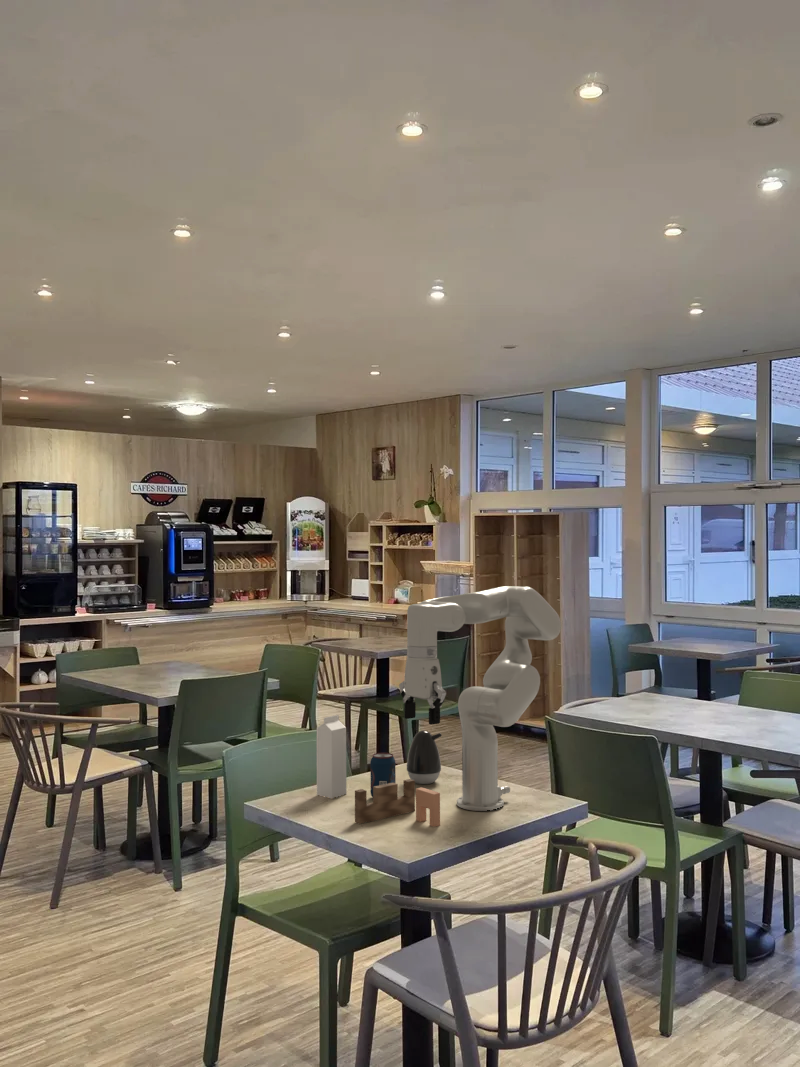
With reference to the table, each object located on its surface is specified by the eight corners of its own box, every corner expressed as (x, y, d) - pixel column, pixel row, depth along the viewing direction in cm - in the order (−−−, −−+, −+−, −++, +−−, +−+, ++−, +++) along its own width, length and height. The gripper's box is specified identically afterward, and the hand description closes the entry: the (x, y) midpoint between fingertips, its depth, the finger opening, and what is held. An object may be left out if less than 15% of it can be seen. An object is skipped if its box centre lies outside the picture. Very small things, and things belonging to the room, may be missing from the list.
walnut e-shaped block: (410, 809, 241) (409, 778, 241) (414, 810, 240) (414, 780, 240) (354, 822, 230) (354, 790, 230) (359, 824, 228) (359, 792, 229)
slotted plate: (422, 818, 233) (421, 787, 233) (440, 825, 227) (439, 793, 227) (416, 820, 232) (415, 788, 232) (434, 826, 226) (433, 794, 226)
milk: (346, 794, 256) (346, 716, 257) (331, 799, 252) (332, 719, 252) (330, 790, 260) (331, 713, 260) (316, 795, 255) (316, 716, 256)
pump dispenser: (443, 786, 264) (442, 733, 264) (407, 786, 264) (406, 734, 264) (440, 777, 274) (440, 727, 275) (406, 777, 274) (406, 727, 275)
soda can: (370, 795, 256) (370, 752, 256) (395, 794, 256) (395, 751, 256) (370, 801, 249) (370, 757, 249) (395, 801, 249) (395, 757, 249)
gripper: (455, 654, 225) (455, 724, 225) (412, 649, 239) (412, 714, 239) (432, 657, 221) (432, 727, 221) (389, 650, 235) (389, 717, 234)
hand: (422, 720), depth 230 cm, fingers open, 9 cm apart
